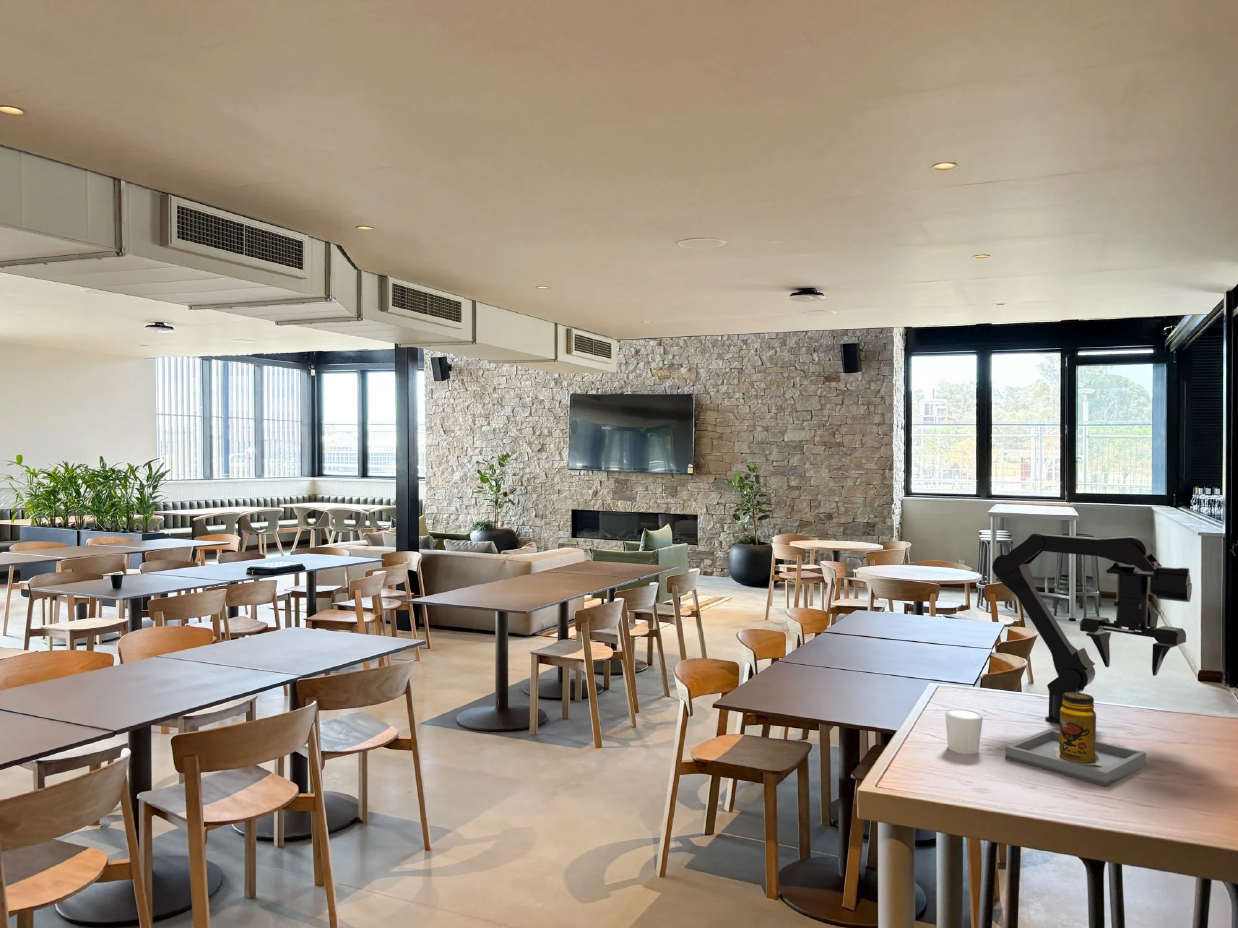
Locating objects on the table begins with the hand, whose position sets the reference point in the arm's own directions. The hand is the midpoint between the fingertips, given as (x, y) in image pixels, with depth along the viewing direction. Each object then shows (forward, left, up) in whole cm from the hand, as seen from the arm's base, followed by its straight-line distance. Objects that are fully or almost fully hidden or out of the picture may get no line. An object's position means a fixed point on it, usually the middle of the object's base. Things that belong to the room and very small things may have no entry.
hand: (1130, 671), depth 189 cm
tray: (+1, -28, -13) cm, 31 cm away
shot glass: (-16, -38, -13) cm, 43 cm away
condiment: (+1, -28, -12) cm, 30 cm away
